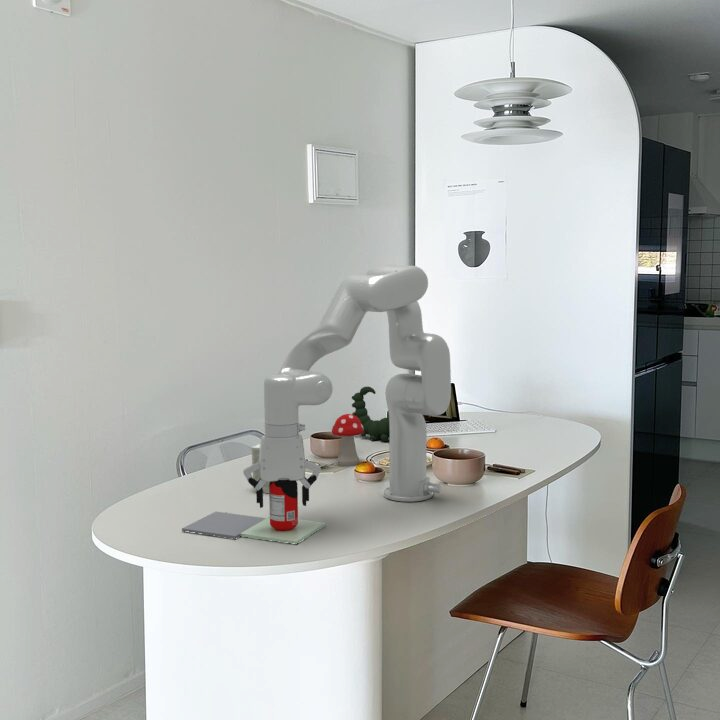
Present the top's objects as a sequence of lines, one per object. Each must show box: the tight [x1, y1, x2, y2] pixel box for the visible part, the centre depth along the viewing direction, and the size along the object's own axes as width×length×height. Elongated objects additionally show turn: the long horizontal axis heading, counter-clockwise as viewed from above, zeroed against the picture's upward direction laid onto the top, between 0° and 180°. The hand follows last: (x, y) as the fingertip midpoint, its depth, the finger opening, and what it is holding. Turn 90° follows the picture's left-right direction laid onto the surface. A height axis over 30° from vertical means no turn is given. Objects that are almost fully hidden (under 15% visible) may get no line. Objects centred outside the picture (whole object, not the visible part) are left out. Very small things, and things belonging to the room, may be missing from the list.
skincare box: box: [251, 443, 270, 494], centre depth 230 cm, size 6×4×12 cm
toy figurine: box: [351, 386, 390, 442], centre depth 289 cm, size 9×19×25 cm
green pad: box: [240, 516, 326, 544], centre depth 197 cm, size 14×14×1 cm
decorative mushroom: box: [331, 413, 364, 467], centre depth 258 cm, size 10×9×15 cm
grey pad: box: [181, 511, 267, 540], centre depth 201 cm, size 14×14×1 cm
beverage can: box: [268, 478, 299, 531], centre depth 196 cm, size 6×6×12 cm
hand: (282, 505), depth 196 cm, fingers open, 9 cm apart
